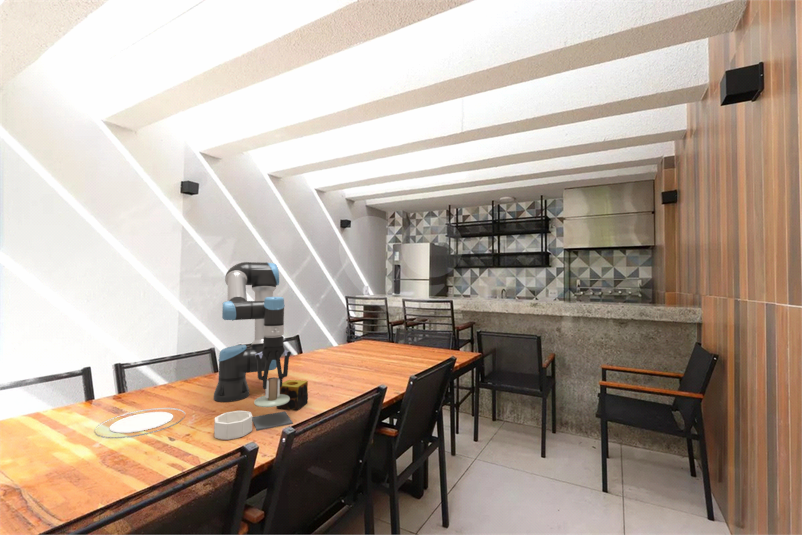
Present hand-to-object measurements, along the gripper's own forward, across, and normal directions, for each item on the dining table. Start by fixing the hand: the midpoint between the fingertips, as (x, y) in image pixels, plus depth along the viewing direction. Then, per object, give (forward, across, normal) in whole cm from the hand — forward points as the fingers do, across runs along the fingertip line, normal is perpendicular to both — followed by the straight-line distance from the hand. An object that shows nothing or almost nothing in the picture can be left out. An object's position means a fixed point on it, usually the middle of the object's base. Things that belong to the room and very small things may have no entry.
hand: (272, 396), depth 138 cm
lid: (+2, 0, 0) cm, 2 cm away
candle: (+10, +11, +13) cm, 20 cm away
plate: (+10, -43, +23) cm, 50 cm away
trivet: (+10, 0, 0) cm, 10 cm away
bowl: (+10, -14, -4) cm, 17 cm away
